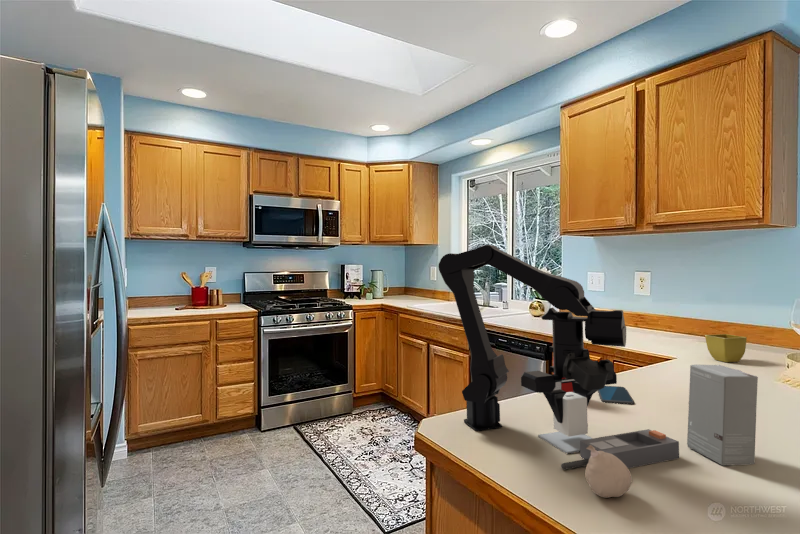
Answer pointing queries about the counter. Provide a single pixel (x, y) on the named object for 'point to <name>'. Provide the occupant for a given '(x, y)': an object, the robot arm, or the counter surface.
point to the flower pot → (726, 347)
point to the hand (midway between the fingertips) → (570, 421)
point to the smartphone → (615, 395)
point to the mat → (564, 441)
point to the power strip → (630, 448)
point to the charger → (573, 415)
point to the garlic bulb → (607, 474)
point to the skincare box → (722, 414)
